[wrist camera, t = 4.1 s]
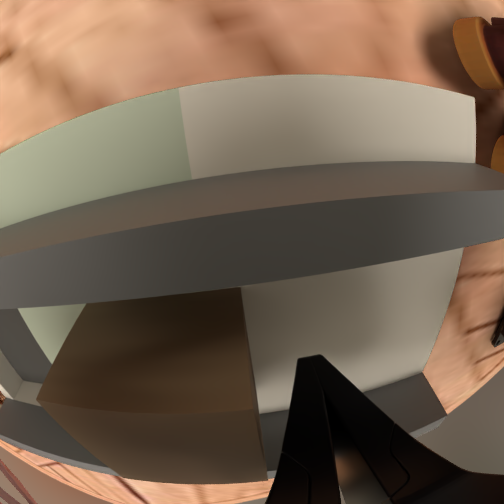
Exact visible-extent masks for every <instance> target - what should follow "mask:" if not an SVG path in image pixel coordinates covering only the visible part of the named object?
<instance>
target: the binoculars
mask: <svg viewBox="0 0 504 504" xmlns="http://www.w3.org/2000/svg"><path fill="white" fill-rule="evenodd" d="M491 22H492V26H491V25H490V24H489V23H488V22H487V21H486V20H485V19H483V18H482V17H471V18H465V19H458V20H457V21H455V23H454V25H453V38H454V42H455V46H456V49H457V52H458V55H459V57H460V60H461V62H462V64H463V66H464V68H465V70H466V71H467V73H468V74H469V76H470V78H471V79H472V80H473V81H474V82H475V84H477V85H478V86H479V87H480V88H482V89H487V90H488V89H504V18H496V17H492V18H491ZM491 169H493V170H495V171H498V172H501V173H503V174H504V135H502V136H501V137H499V138H498V140H497V141H496V144H495V146H494V150H493V153H492V159H491Z"/></svg>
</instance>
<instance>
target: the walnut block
mask: <svg viewBox="0 0 504 504" xmlns="http://www.w3.org/2000/svg"><path fill="white" fill-rule="evenodd" d="M36 400H37V402H38V403H39V404H40V405H41V406H42V407H43V408H44V409H45V410H46V411H47V413H48V414H49V415H50V416H51V417H52V418H53V419H54V420H55V421H56V422H57V423H58V424H59V425H60V426H61V427H62V428H63V429H64V430H65V431H66V432H67V433H69V434H70V435H71V436H72V437H73V438H74V439H75V440H76V441H77V442H78V443H80V444H81V445H82V446H83V447H84V448H85V449H87V450H88V451H89V452H90V453H91V454H93V455H94V456H95V457H96V458H97V459H99V460H100V461H101V462H103V463H104V464H105V465H106V466H108V467H109V468H110V469H112V470H113V471H114V472H116V473H117V474H119V475H120V476H121V477H123V478H127V479H134V480H142V481H151V482H161V483H175V484H233V483H247V482H258V481H267V480H268V475H267V468H266V461H265V453H264V446H263V438H262V431H261V423H260V415H259V408H258V400H257V392H256V385H255V379H254V373H253V366H252V360H251V354H250V347H249V341H248V334H247V327H246V321H245V314H244V307H243V300H242V294H241V287H236V288H227V289H219V290H211V291H202V292H193V293H184V294H175V295H166V296H157V297H148V298H138V299H128V300H118V301H108V302H97V303H86V305H85V306H84V308H83V310H82V311H81V313H80V315H79V316H78V318H77V320H76V322H75V323H74V325H73V327H72V328H71V330H70V332H69V334H68V336H67V337H66V339H65V341H64V343H63V345H62V347H61V348H60V350H59V352H58V354H57V356H56V358H55V360H54V362H53V364H52V366H51V368H50V370H49V372H48V374H47V376H46V378H45V380H44V382H43V385H42V387H41V389H40V391H39V393H38V396H37V398H36Z"/></svg>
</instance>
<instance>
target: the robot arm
mask: <svg viewBox="0 0 504 504" xmlns="http://www.w3.org/2000/svg"><path fill="white" fill-rule="evenodd" d="M503 342H504V318H503V320H502V322H501V324H500V326H499V329H498V331H497V333H496V335H495V337H494V339H493V341H492V345H493V346H494V347H497V346H498V345H500V344H502V343H503ZM394 423H395V422H394V420H392V419H391V418H390V417H389V416H388V415H387V414H386V413H385V412H383V411H382V410H381V409H380V408H379V407H378V406H377V405H376V404H375V403H374V402H372V401H371V400H370V399H369V398H368V397H367V396H366V395H365V394H364V393H363V392H361V391H360V390H359V389H358V388H357V387H356V386H355V385H354V384H353V383H352V382H351V381H350V380H348V379H347V378H346V377H345V376H344V375H343V374H342V373H341V372H340V371H339V370H338V369H337V368H336V367H334V366H333V365H332V364H331V363H330V362H329V361H328V360H327V359H326V358H325V357H324V356H323V355H321V354H317V355H312V356H306V357H301V358H298V359H297V364H296V371H295V377H294V383H293V390H292V396H291V402H290V407H289V413H288V419H287V424H286V429H285V435H284V440H283V445H282V450H281V454H280V459H279V463H278V467H277V471H276V475H275V479H274V482H273V484H272V487H271V490H270V492H269V495H268V498H267V500H266V502H265V504H341V498H340V490H339V486H340V489H341V491H342V494H343V497H344V500H345V503H346V504H504V475H498V474H486V473H477V472H471V471H467V470H465V469H462V468H460V467H458V466H456V465H454V464H453V463H451V462H449V461H448V460H446V459H445V458H443V457H441V456H440V455H438V454H437V453H435V452H434V451H432V450H430V449H429V448H427V447H426V446H425V445H423V444H422V443H420V442H419V441H417V440H416V439H415V438H413V437H412V436H411V435H410V434H409V433H407V432H406V431H405V430H404V429H403V428H402V427H400V426H399V425H398V424H397V423H395V424H394Z"/></svg>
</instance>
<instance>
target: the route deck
mask: <svg viewBox="0 0 504 504" xmlns="http://www.w3.org/2000/svg"><path fill="white" fill-rule="evenodd" d="M475 157H476V114H475V98H474V97H471V96H468V95H464V94H460V93H456V92H453V91H448V90H444V89H440V88H435V87H431V86H426V85H421V84H415V83H409V82H403V81H396V80H389V79H381V78H372V77H361V76H347V75H322V74H296V75H271V76H257V77H246V78H236V79H228V80H220V81H213V82H206V83H200V84H195V85H189V86H184V87H179V88H174V89H169V90H165V91H160V92H156V93H152V94H148V95H144V96H140V97H137V98H133V99H130V100H126V101H123V102H120V103H116V104H113V105H110V106H107V107H104V108H101V109H98V110H95V111H92V112H90V113H87V114H84V115H81V116H79V117H76V118H74V119H71V120H69V121H66V122H64V123H61V124H59V125H57V126H54V127H52V128H50V129H48V130H46V131H43V132H41V133H39V134H37V135H35V136H33V137H31V138H29V139H27V140H25V141H23V142H21V143H19V144H17V145H15V146H14V147H12V148H10V149H8V150H6V151H5V152H3V153H1V154H0V391H1V392H2V394H3V395H4V396H5V397H6V398H5V400H4V402H3V404H2V406H1V408H0V439H2V440H3V441H5V442H7V443H9V444H12V445H14V446H16V447H19V448H21V449H24V450H26V451H29V452H31V453H34V454H37V455H39V456H42V457H45V458H48V459H51V460H54V461H57V462H61V463H64V464H67V465H71V466H75V467H78V468H82V469H86V470H91V471H95V472H100V473H105V474H110V475H115V476H120V475H119V474H117V473H116V472H114V471H113V470H112V469H110V468H109V467H108V466H106V465H105V464H104V463H103V462H101V461H100V460H99V459H97V458H96V457H95V456H94V455H93V454H91V453H90V452H89V451H88V450H87V449H85V448H84V447H83V446H82V445H81V444H80V443H78V442H77V441H76V440H75V439H74V438H73V437H72V436H71V435H70V434H69V433H67V432H66V431H65V430H64V429H63V428H62V427H61V426H60V425H59V424H58V423H57V422H56V421H55V420H54V419H53V418H52V417H51V416H50V415H49V414H48V413H47V411H46V410H45V409H44V408H43V407H42V406H41V405H40V404H39V403H38V402H37V400H36V398H37V396H38V393H39V391H40V389H41V387H42V385H43V382H44V380H45V378H46V376H47V374H48V372H49V370H50V368H51V366H52V364H53V362H54V360H55V358H56V356H57V354H58V352H59V350H60V348H61V347H62V345H63V343H64V341H65V339H66V337H67V336H68V334H69V332H70V330H71V328H72V327H73V325H74V323H75V322H76V320H77V318H78V316H79V315H80V313H81V311H82V310H83V308H84V306H85V305H86V303H97V302H108V301H118V300H128V299H138V298H148V297H157V296H166V295H175V294H184V293H193V292H202V291H211V290H219V289H227V288H236V287H241V294H242V300H243V307H244V314H245V321H246V327H247V334H248V341H249V347H250V354H251V360H252V366H253V373H254V379H255V385H256V392H257V400H258V408H259V415H260V423H261V431H262V438H263V446H264V453H265V461H266V468H267V475H268V479H271V478H275V475H276V471H277V467H278V463H279V459H280V454H281V450H282V445H283V440H284V435H285V429H286V424H287V419H288V413H289V407H290V402H291V396H292V390H293V383H294V377H295V371H296V364H297V359H298V358H301V357H306V356H312V355H317V354H321V355H323V356H324V357H325V358H326V359H327V360H328V361H329V362H330V363H331V364H332V365H333V366H334V367H336V368H337V369H338V370H339V371H340V372H341V373H342V374H343V375H344V376H345V377H346V378H347V379H348V380H350V381H351V382H352V383H353V384H354V385H355V386H356V387H357V388H358V389H359V390H360V391H361V392H363V393H364V394H365V395H366V396H367V397H368V398H369V399H370V400H371V401H372V402H374V403H375V404H376V405H377V406H378V407H379V408H380V409H381V410H382V411H383V412H385V413H386V414H387V415H388V416H389V417H390V418H391V419H392V420H394V422H395V423H397V424H398V425H399V426H400V427H402V428H403V429H404V430H405V431H406V432H407V433H409V434H410V435H411V436H412V437H413V438H416V437H419V436H421V435H423V434H425V433H427V432H429V431H431V430H433V429H435V428H437V427H439V426H440V424H441V423H442V422H443V420H444V419H445V418H446V417H447V413H446V411H445V410H444V408H443V406H442V404H441V403H440V401H439V399H438V398H437V396H436V394H435V392H434V391H433V389H432V387H431V386H430V384H429V382H428V381H427V379H426V378H425V376H424V374H423V373H422V371H423V369H424V367H425V365H426V363H427V360H428V358H429V356H430V354H431V351H432V349H433V346H434V344H435V341H436V339H437V336H438V334H439V331H440V328H441V326H442V323H443V320H444V317H445V314H446V311H447V308H448V305H449V302H450V299H451V296H452V293H453V289H454V286H455V282H456V278H457V275H458V271H459V267H460V263H461V259H462V254H463V250H464V247H468V246H472V245H477V244H481V243H486V242H490V241H495V240H499V239H503V238H504V174H503V173H501V172H498V171H495V170H493V169H490V168H487V167H484V166H482V165H479V164H476V163H475ZM395 423H394V424H395Z"/></svg>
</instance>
